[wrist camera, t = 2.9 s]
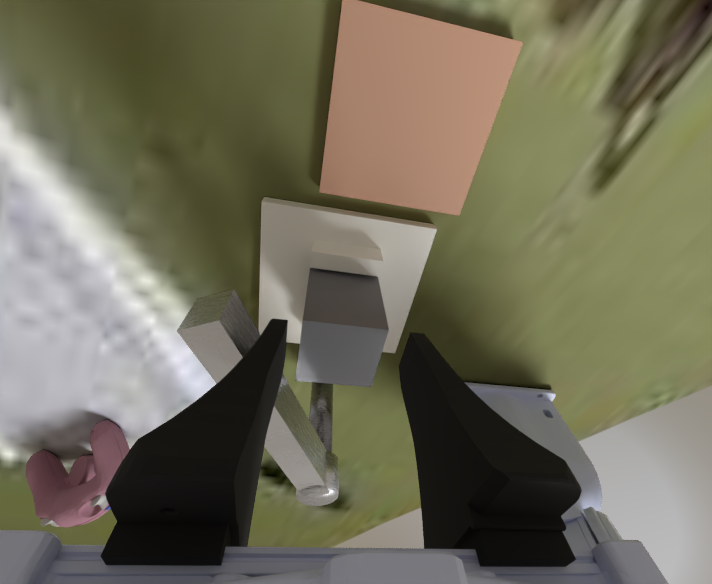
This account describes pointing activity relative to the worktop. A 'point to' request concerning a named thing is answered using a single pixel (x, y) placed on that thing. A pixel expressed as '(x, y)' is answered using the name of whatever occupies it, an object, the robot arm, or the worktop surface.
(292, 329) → the socket
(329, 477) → the white square rod
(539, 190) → the worktop surface
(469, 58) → the tile
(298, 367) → the plug
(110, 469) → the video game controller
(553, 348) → the worktop surface
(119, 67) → the worktop surface
